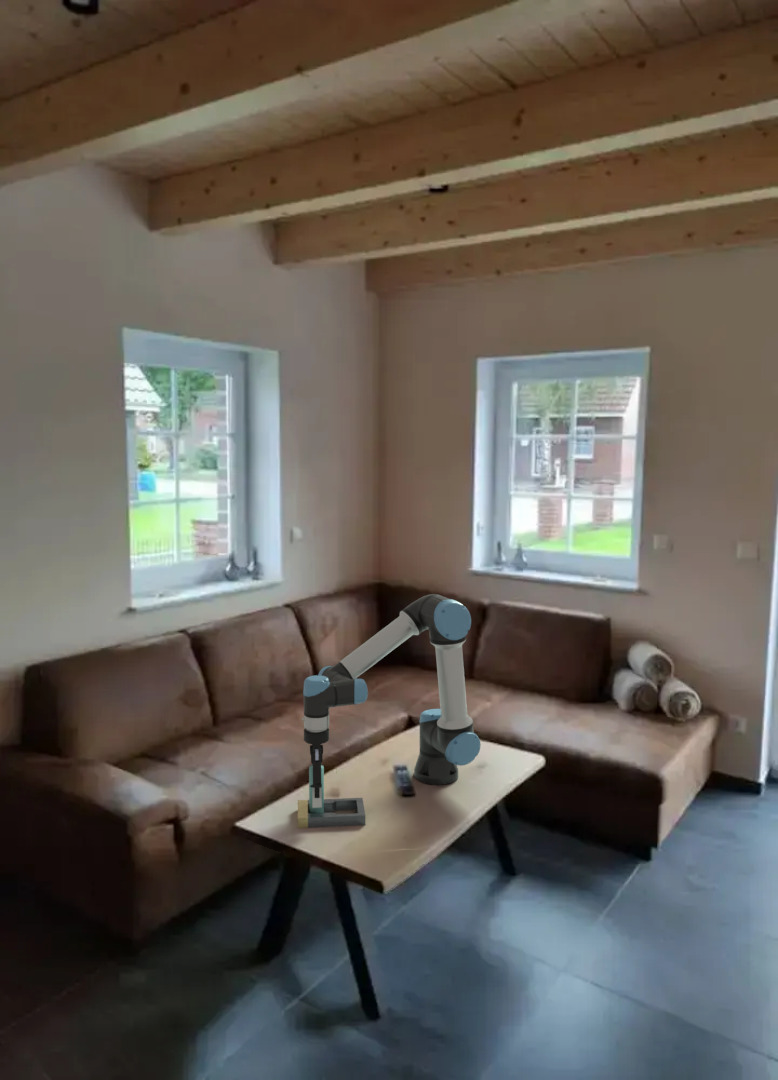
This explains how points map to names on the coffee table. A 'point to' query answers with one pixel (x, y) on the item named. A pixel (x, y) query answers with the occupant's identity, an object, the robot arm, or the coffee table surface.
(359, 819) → the keyhole plate
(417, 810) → the coffee table surface
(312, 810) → the peg
